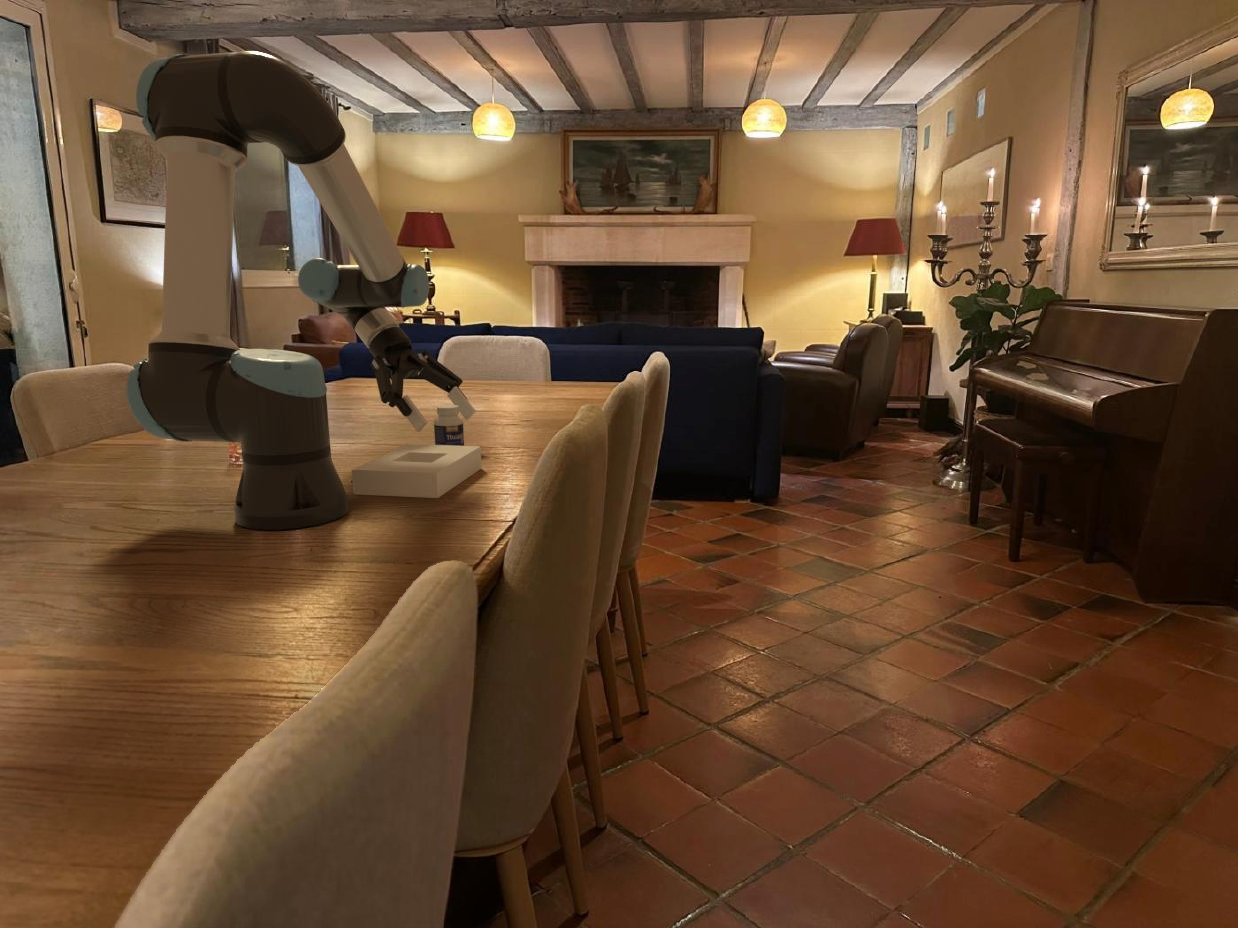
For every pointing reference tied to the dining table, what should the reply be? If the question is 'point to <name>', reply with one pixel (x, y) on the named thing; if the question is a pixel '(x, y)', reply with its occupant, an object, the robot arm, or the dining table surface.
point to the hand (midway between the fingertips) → (447, 421)
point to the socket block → (417, 471)
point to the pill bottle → (448, 426)
